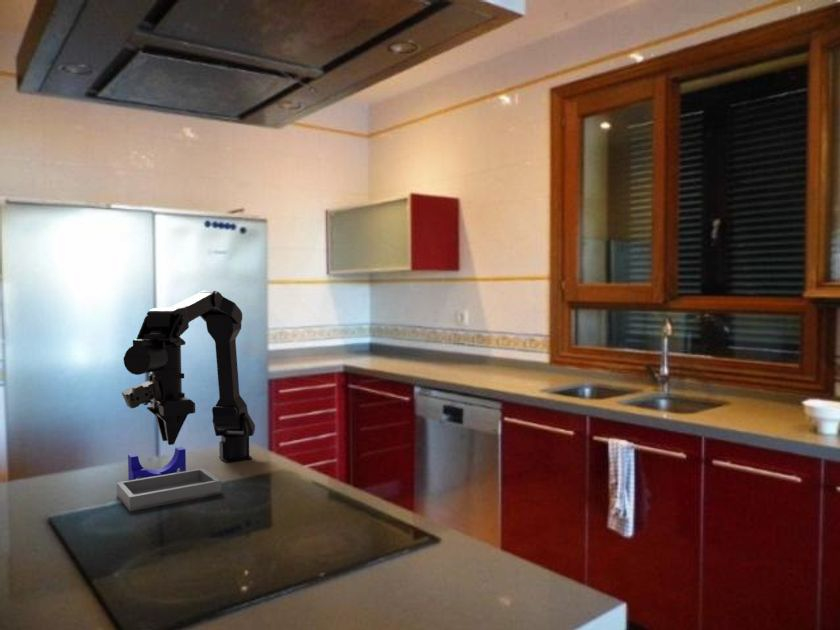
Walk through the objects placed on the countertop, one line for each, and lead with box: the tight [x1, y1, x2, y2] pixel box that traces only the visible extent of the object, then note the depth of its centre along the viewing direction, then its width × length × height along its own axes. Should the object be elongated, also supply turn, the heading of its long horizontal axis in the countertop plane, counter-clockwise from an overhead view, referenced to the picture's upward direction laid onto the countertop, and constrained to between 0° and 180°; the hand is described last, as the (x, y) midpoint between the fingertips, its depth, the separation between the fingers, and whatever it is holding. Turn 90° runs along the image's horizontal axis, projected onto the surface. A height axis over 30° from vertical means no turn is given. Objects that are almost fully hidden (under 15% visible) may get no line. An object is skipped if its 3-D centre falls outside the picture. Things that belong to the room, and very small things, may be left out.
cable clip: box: [127, 446, 187, 481], centre depth 150 cm, size 12×4×6 cm, turn 127°
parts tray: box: [116, 467, 222, 512], centre depth 136 cm, size 18×12×3 cm, turn 126°
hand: (168, 442), depth 136 cm, fingers open, 4 cm apart
